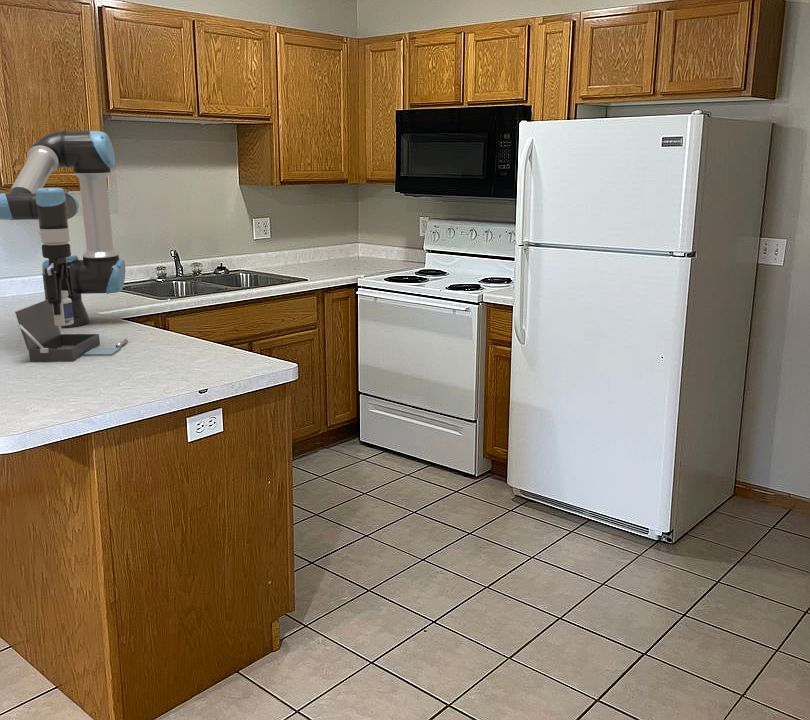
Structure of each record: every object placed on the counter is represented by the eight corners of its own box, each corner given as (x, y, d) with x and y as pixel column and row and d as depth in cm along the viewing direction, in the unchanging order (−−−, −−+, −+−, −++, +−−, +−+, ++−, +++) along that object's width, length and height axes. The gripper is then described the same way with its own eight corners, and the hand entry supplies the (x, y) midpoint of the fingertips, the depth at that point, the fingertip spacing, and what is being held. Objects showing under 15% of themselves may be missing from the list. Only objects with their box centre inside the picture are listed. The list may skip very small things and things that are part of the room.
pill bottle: (76, 322, 240) (73, 289, 238) (70, 326, 235) (66, 292, 233) (58, 322, 240) (54, 289, 238) (51, 326, 235) (47, 293, 233)
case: (52, 345, 250) (47, 299, 246) (100, 345, 250) (95, 298, 246) (19, 362, 228) (13, 311, 224) (71, 362, 228) (66, 311, 225)
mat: (93, 350, 243) (93, 348, 243) (120, 349, 243) (120, 347, 243) (83, 356, 235) (83, 354, 235) (111, 355, 235) (111, 353, 235)
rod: (124, 342, 253) (124, 339, 253) (128, 342, 253) (127, 339, 253) (115, 348, 245) (115, 344, 245) (119, 348, 245) (119, 344, 245)
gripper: (55, 239, 241) (63, 317, 246) (28, 247, 223) (37, 330, 229) (80, 239, 241) (88, 317, 247) (55, 247, 223) (64, 330, 229)
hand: (64, 323), depth 238 cm, fingers closed on pill bottle, 5 cm apart
